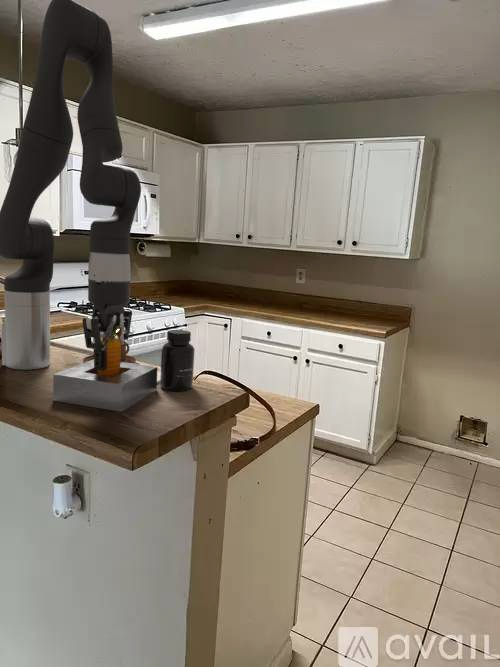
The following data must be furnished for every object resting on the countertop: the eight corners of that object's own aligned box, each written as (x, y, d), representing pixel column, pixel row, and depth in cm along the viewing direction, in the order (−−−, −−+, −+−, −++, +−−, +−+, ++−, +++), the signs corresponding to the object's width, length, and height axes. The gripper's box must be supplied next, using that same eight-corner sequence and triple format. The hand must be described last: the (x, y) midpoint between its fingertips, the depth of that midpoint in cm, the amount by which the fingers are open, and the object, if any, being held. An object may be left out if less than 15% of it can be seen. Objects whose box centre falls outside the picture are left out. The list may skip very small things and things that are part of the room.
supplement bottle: (186, 393, 99) (189, 336, 97) (154, 389, 100) (156, 332, 98) (196, 384, 106) (199, 330, 103) (167, 381, 107) (169, 327, 105)
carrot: (113, 390, 98) (115, 316, 95) (125, 396, 94) (127, 320, 92) (90, 393, 95) (90, 317, 92) (101, 400, 91) (102, 322, 88)
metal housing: (53, 400, 90) (53, 374, 89) (95, 381, 103) (96, 358, 102) (121, 411, 86) (122, 384, 85) (156, 390, 100) (157, 366, 99)
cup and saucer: (99, 359, 122) (99, 335, 121) (143, 364, 120) (144, 340, 119) (72, 370, 111) (72, 343, 109) (121, 376, 108) (122, 349, 107)
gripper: (111, 274, 98) (110, 356, 101) (68, 278, 84) (68, 372, 88) (145, 277, 96) (143, 361, 99) (106, 281, 83) (105, 378, 86)
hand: (108, 366), depth 93 cm, fingers closed on carrot, 5 cm apart
